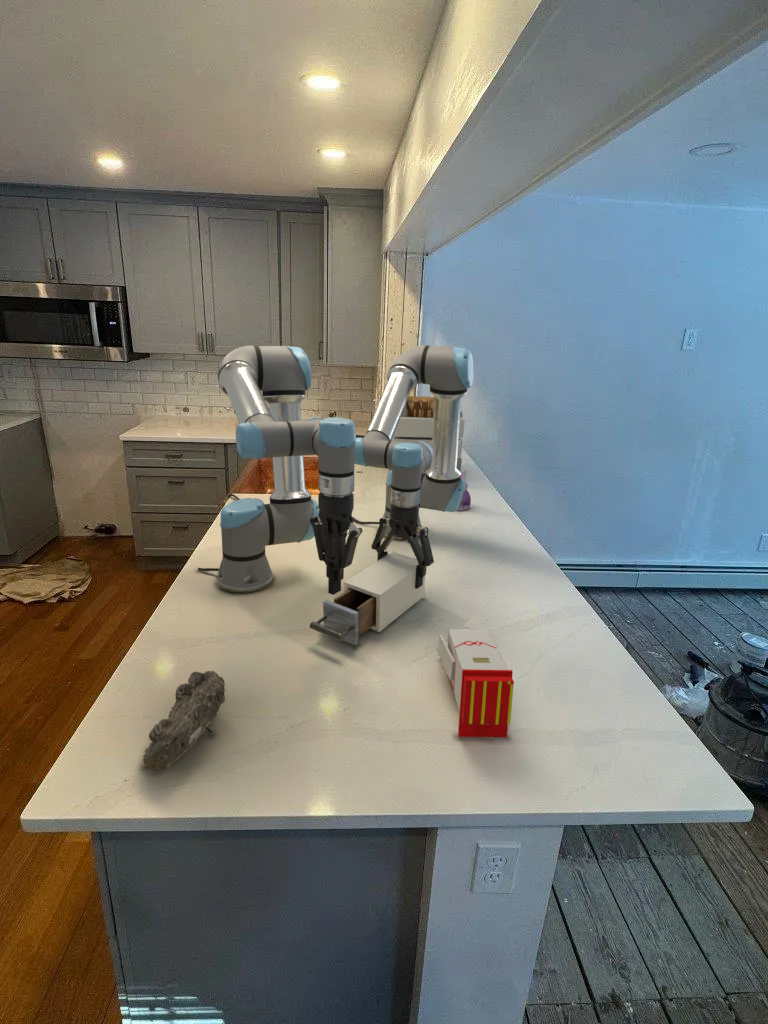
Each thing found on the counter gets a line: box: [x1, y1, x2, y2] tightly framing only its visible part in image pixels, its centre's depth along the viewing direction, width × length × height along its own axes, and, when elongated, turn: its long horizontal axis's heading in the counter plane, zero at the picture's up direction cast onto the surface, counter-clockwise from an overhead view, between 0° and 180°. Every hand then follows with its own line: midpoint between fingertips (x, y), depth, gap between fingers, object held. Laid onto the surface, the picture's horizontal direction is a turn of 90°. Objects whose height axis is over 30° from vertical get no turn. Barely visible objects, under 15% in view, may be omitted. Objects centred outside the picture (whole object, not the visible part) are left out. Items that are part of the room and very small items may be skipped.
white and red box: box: [437, 628, 515, 738], centre depth 117 cm, size 12×13×30 cm
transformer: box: [389, 395, 465, 472], centre depth 268 cm, size 34×33×41 cm
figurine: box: [456, 470, 472, 511], centre depth 227 cm, size 9×10×15 cm
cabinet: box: [343, 551, 426, 633], centre depth 148 cm, size 22×11×10 cm, turn 146°
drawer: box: [309, 588, 376, 646], centre depth 139 cm, size 26×10×8 cm, turn 146°
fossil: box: [142, 670, 226, 771], centre depth 103 cm, size 22×10×15 cm
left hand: (334, 591), depth 128 cm, fingers closed
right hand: (400, 580), depth 153 cm, fingers closed on cabinet, 11 cm apart
